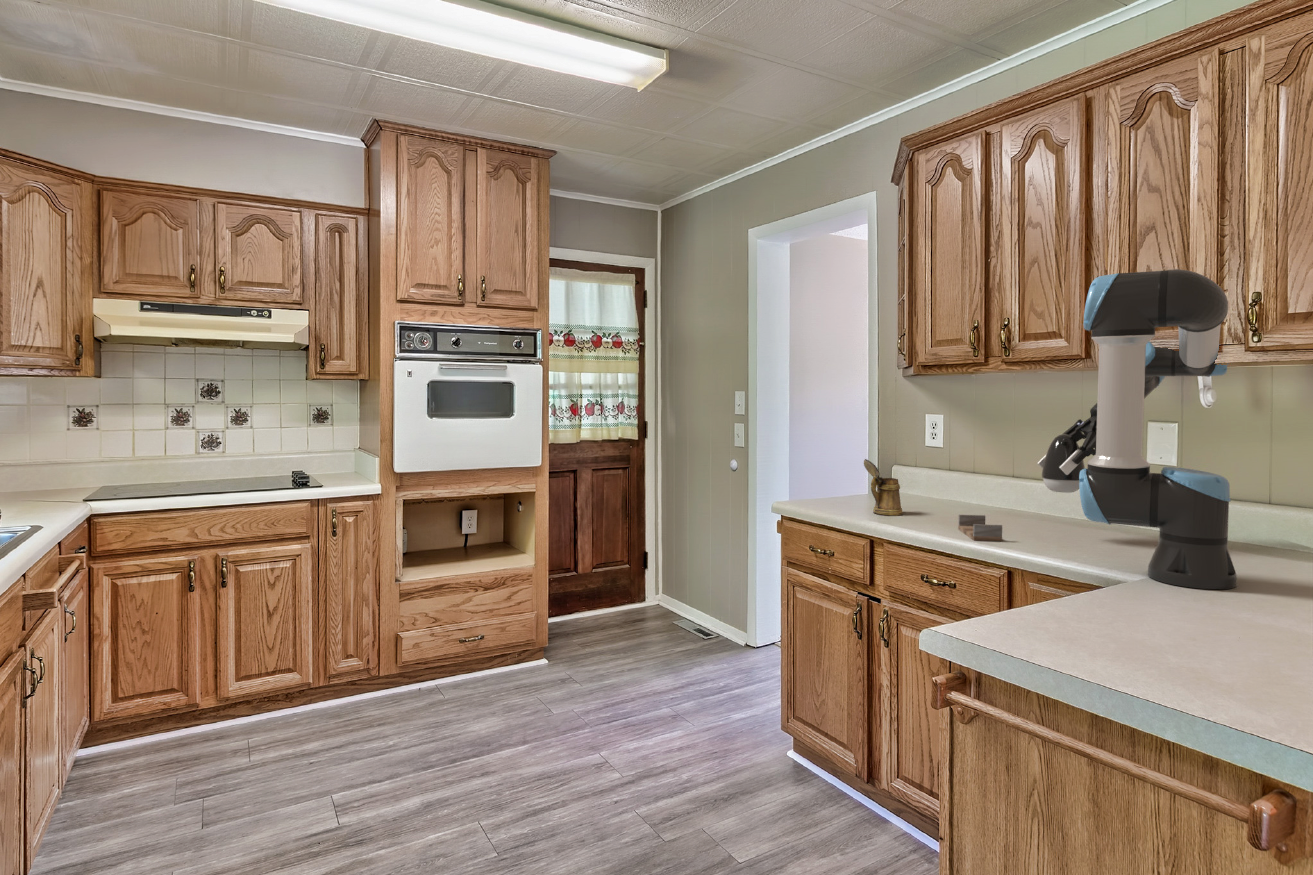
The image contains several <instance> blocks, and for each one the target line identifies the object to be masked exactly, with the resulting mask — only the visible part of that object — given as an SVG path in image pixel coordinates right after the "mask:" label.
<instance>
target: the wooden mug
mask: <svg viewBox="0 0 1313 875" xmlns="http://www.w3.org/2000/svg"><path fill="white" fill-rule="evenodd" d="M863 466H864V468H865V470H866V471H867V472H868V473H869V474H870V475H871V476H872V479H871V482H870V491H871V494H872V496H873V498H874V501H875V502H874V503H875V504H874V507H873V511H872V513H873V514H876V515H879V516H889V517H891V516H892V517H895V516H902V515H903V514H904V511H903V508H902V506H901V504H902V503H901V496H900V489H901V486H900V483H899V479H898V478H894V477H884V478H883V477H882V476H880V471H879V468H878V467H877V466H876V465H875V464H874V463H873V462H872V461H870V460H868V459H867V458H864V460H863Z"/></svg>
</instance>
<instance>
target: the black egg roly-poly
mask: <svg viewBox="0 0 1313 875" xmlns="http://www.w3.org/2000/svg"><path fill="white" fill-rule="evenodd" d="M1078 447H1079V448H1080V445H1079V443H1078V441H1077V442H1076V440H1075V439H1074V438H1073V437H1072V436H1070V435H1067V434H1063V433H1062V434H1059V435H1057V436H1056V437H1054V438H1053V440H1052V441H1051V442H1050V444H1049V447H1048V449H1047V452H1046V454H1045V455H1046V457H1045V460H1044V464H1043V469H1042V468H1041V469H1042V470H1041V478H1042V479H1043V480H1042V481H1043V483H1044V485H1045V487H1046V488H1047V489H1048V490H1050V491H1052V492H1054V493H1055V492H1056V493H1067V494H1069V493H1070V494H1071V493H1076V492H1077V491H1078V490H1079V474H1080V471H1081V470H1082V469H1085V468H1086V467H1085V462H1084V459H1083V460H1082V461H1081V462H1080V463H1079V464H1078V465H1077V466H1076V467H1075V468H1074V469H1073V470H1072V471H1071V472H1070V473H1069V474H1068V475H1066V474H1065V473H1064V472H1063V471H1062V470H1061V469H1060V468H1059V467H1060V466H1061V465H1062V464H1063V463H1064V462H1065V461H1066V460H1067V459H1068V458H1069V457H1070V456H1071V455H1072V454H1073V453H1074V452H1075V451H1076V450H1080V449H1079V448H1078ZM1080 451H1081V450H1080ZM1079 491H1080V490H1079Z"/></svg>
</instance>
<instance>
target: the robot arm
mask: <svg viewBox="0 0 1313 875" xmlns="http://www.w3.org/2000/svg"><path fill="white" fill-rule="evenodd" d="M1228 310H1229V301H1228V296H1227V294H1226V293H1225V291H1224V289H1223V288H1221V286H1219V285H1218V283H1216V282H1215V281H1214V280H1212V279H1211V278H1209V277H1207V276H1206V275H1204V274H1200V273H1198V272H1196V271H1191V270H1188V269H1180V268H1178V269H1177V268H1175V269H1166V270H1152V271H1151V270H1149V271H1139V272H1138V271H1137V272H1122V273H1121V272H1120V273H1119V272H1118V273H1113V274H1106V275H1099V276H1097V277H1095V278H1094V279H1093V280H1092V282H1091V284H1090V286H1089V289H1088V292H1087V296H1086V301H1085V306H1084V313H1083V324H1082V325H1083V329H1084V330H1085V331H1088V332H1090V331H1091V335H1090V337H1091V340H1093V341H1094V342H1095V343H1096V344H1097V345H1098V376H1097V377H1098V378H1097V400H1096V401H1097V402H1096V403H1095V404H1094V405H1093V406H1092V407H1091V408H1090V409H1089V414H1090V417H1089V418H1087V419H1086V420H1085V421H1083V420H1082V419H1078V420H1076V422H1075V423H1074V424H1073V425H1072V426H1070V427H1069V428H1068V429H1067V430H1065V431H1064V432H1063V433H1062V434H1067V435H1070V436H1072V437H1073V438H1074V439H1075V440H1076V442H1077V443H1078V442H1079V441H1081V440H1084V441H1083V442H1082V445H1079V447H1078V448H1079V449H1080V450H1081V451H1080V450H1076V451H1075V452H1074V453H1073V454H1072V455H1071V456H1070V457H1069V458H1068V459H1067V460H1066V461H1065V462H1064V463H1063V464H1062V465H1061V466H1060V467H1059V468H1060V469H1061V470H1062V471H1063V472H1064V473H1065V474H1066V475H1068V474H1069V473H1070V472H1071V471H1072V470H1073V469H1074V468H1075V467H1076V466H1077V465H1078V464H1079V463H1080V462H1081V461H1082V460H1083V461H1084V459H1085V458H1087V457H1091V455H1092V458H1090V459H1089V460H1088V461H1087V468H1086V467H1085V469H1082V470H1081V471H1080V474H1079V497H1080V498H1079V500H1080V503H1081V509H1082V511H1083V512H1082V513H1083V515H1084V516H1085V517H1086V519H1087V520H1089V521H1091V522H1095V523H1104V524H1107V525H1112V524H1114V525H1121V526H1122V525H1123V526H1133V527H1134V526H1135V527H1144V528H1146V527H1147V528H1156V529H1157V528H1158V529H1159V537H1158V538H1159V539H1158V543H1157V544H1156V547H1155V550H1154V552H1153V554H1152V556H1151V559H1150V561H1149V563H1148V566H1147V576H1148V577H1149V578H1151V579H1152V580H1154V581H1158V582H1161V583H1164V584H1168V585H1174V586H1178V587H1184V588H1191V589H1201V590H1203V589H1204V590H1228V589H1233V588H1235V587H1237V581H1238V580H1237V579H1238V577H1237V572H1236V569H1235V566H1234V564H1233V561H1232V558H1231V554H1230V550H1229V549H1228V542H1229V541H1228V539H1229V515H1230V514H1229V513H1230V508H1229V507H1230V506H1229V505H1230V502H1231V501H1232V498H1231V495H1230V494H1231V492H1230V482H1229V480H1228V479H1227V478H1226V477H1224V476H1222V475H1220V474H1216V473H1213V472H1209V471H1203V470H1197V469H1191V468H1185V467H1174V466H1164V467H1162V469H1161V471H1160V473H1159V472H1158V473H1157V472H1156V473H1155V472H1151V471H1150V469H1151V464H1150V462H1149V461H1147V460H1146V459H1145V458H1144V457H1143V440H1144V439H1143V438H1144V437H1143V433H1144V412H1145V411H1144V410H1145V408H1144V407H1145V399H1146V398H1147V397H1148V396H1149V395H1150V394H1151V393H1152V392H1153V391H1154V390H1155V389H1156V388H1158V387H1159V386H1160V384H1161V383H1162V382H1163V380H1164V379H1165V378H1166V377H1208V378H1209V377H1212V376H1213V377H1214V376H1215V377H1216V376H1217V377H1218V376H1224V375H1226V374H1227V372H1228V364H1227V365H1221V364H1219V365H1217V364H1214V363H1215V360H1216V359H1217V356H1218V351H1219V345H1220V339H1221V337H1220V335H1221V326H1222V325H1221V324H1223V322H1224V321H1225V320H1226V318H1227V316H1228V314H1229V313H1228ZM1166 327H1177V328H1178V329H1177V330H1178V346H1179V351H1174V350H1172V349H1168V348H1160V347H1155V346H1154V345H1153V343H1152V342H1150V341H1151V340H1152V339H1154V337H1156V328H1166ZM1045 457H1046V454H1045V455H1044V456H1043V457H1041V459H1040V460H1039V461H1038V462H1037V465H1038V466H1039V467H1040V468H1041V469H1043V464H1044V460H1045Z"/></svg>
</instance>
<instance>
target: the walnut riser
mask: <svg viewBox="0 0 1313 875" xmlns="http://www.w3.org/2000/svg"><path fill="white" fill-rule="evenodd" d="M957 529H958V530H959V531H960V532H961V533H963V534H964V535H966V536H967V537H968V538H970V539H971V540H973V541H974V542H975V541H977V542H978V541H979V542H1003V525H1002V524H986V515H985V514H984V515H983V514H958V528H957Z"/></svg>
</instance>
